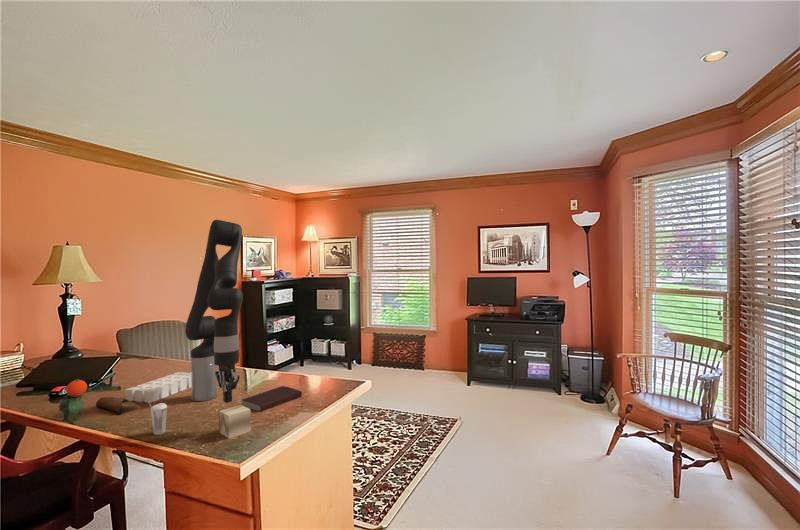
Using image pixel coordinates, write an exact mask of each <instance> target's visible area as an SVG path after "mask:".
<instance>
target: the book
mask: <svg viewBox="0 0 800 530" xmlns="http://www.w3.org/2000/svg"><path fill="white" fill-rule="evenodd" d="M302 394H303V392H302V390H299V389H296V388H293V387H288V386H286V385H285V386H284V385H282V386H279V387H278V386H277V387H276V388H275V387H274V388H271V389H270V390H269V389H268V390H265V391H263V392H261V393H260V392H259V393H258V394H255V395H252V396H248V397H245V398H242V399H241V405H242V406H244V407H247V408H249V409H250V410H254V411H257V412H264V411H266V410H269V409H272V408H275V407H277V406H281V405H283V404H286V403H288V402H291V401H294V400H296V399H299V398H302V397H303V395H302Z"/></svg>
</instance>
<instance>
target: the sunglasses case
mask: <svg viewBox="0 0 800 530" xmlns="http://www.w3.org/2000/svg"><path fill="white" fill-rule="evenodd" d="M95 404H96V405H95V406H96V407H97V408H102V409H106V410H109V411H112V412H115V413H117V414H120V415H124V414H128V413H130V412H133V411H134V412H135V411H136V410H139V409H142V407H141V406H140V405H139V404H137V403H135V402H133V401H128V400H127V399H125V398H120V397H116V396H105V397H101V398H99V399H98V400H97V401H96V403H95Z"/></svg>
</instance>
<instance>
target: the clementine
mask: <svg viewBox="0 0 800 530" xmlns="http://www.w3.org/2000/svg"><path fill="white" fill-rule="evenodd" d="M87 389H88V385H87V383H86V381H85V380H82V379H74V380H73V381H71V382H69V383H68V385H67V386H66V388H65V392H66V394H67V395H68V396H69V395H76V396H70V397H71V398H72V397H74V398H77V397H80V396H82V395H83V394H82V393H84V392H86V391H87ZM78 394H81V395H78ZM84 394H85V393H84Z"/></svg>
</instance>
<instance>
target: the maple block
mask: <svg viewBox="0 0 800 530" xmlns="http://www.w3.org/2000/svg"><path fill="white" fill-rule="evenodd" d="M251 419H252V418H251V408H247V407H244V406H242V404H237V405H234V406H230V407H227V408H222V409H220V410H218V433H219V434H221V435H223V436H224V437H226V438H227V439H232V438H236V437H238V436H241V435H243V434H246V433H250V432H251V431H252V428H251V427H252V426H251V424H252V423H251Z"/></svg>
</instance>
